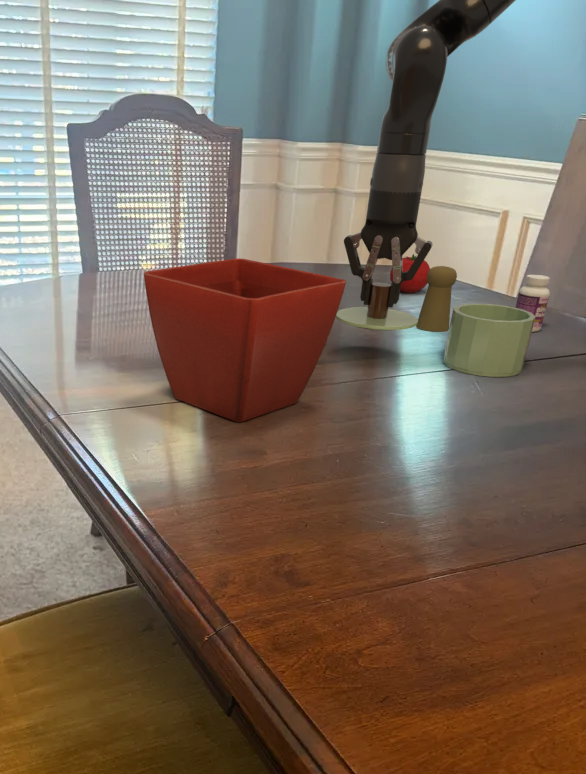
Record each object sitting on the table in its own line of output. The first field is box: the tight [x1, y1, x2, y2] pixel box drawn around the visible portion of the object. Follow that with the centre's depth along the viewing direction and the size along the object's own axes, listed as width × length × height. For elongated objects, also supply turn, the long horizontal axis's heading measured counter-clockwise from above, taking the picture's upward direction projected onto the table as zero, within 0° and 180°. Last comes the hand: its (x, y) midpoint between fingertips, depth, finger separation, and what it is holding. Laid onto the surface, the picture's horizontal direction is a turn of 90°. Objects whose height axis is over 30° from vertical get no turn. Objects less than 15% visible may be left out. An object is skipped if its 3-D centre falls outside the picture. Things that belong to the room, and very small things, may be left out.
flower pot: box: [143, 258, 347, 423], centre depth 102 cm, size 19×19×17 cm
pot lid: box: [335, 281, 418, 332], centre depth 123 cm, size 13×13×6 cm
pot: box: [443, 303, 535, 378], centre depth 122 cm, size 12×12×8 cm
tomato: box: [389, 253, 431, 294], centre depth 171 cm, size 9×9×8 cm
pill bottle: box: [514, 274, 551, 333], centre depth 144 cm, size 5×5×10 cm
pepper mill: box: [415, 265, 458, 333], centre depth 143 cm, size 6×6×11 cm
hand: (378, 304), depth 123 cm, fingers closed on pot lid, 3 cm apart
